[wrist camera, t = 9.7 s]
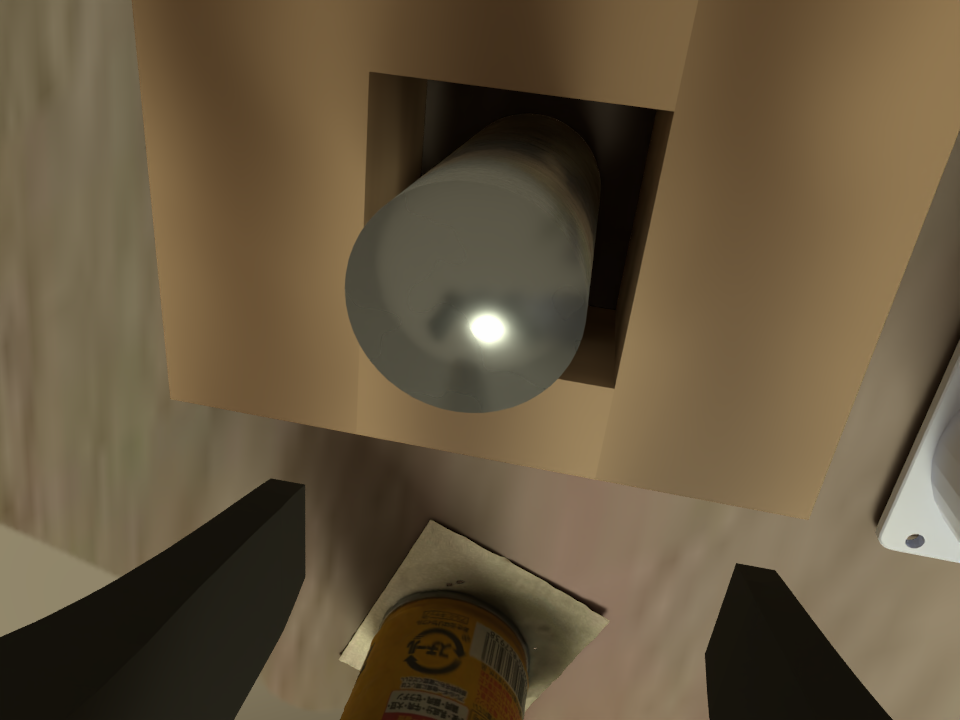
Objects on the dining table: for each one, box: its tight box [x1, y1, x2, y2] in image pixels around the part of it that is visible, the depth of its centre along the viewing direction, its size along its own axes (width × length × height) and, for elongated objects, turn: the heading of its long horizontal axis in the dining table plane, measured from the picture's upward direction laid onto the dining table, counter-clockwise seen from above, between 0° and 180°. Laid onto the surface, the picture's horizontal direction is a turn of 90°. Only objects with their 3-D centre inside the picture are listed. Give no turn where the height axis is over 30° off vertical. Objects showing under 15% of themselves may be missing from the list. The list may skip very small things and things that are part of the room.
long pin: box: [345, 113, 601, 413], centre depth 16 cm, size 4×4×9 cm
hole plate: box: [132, 0, 960, 520], centre depth 17 cm, size 16×11×5 cm
